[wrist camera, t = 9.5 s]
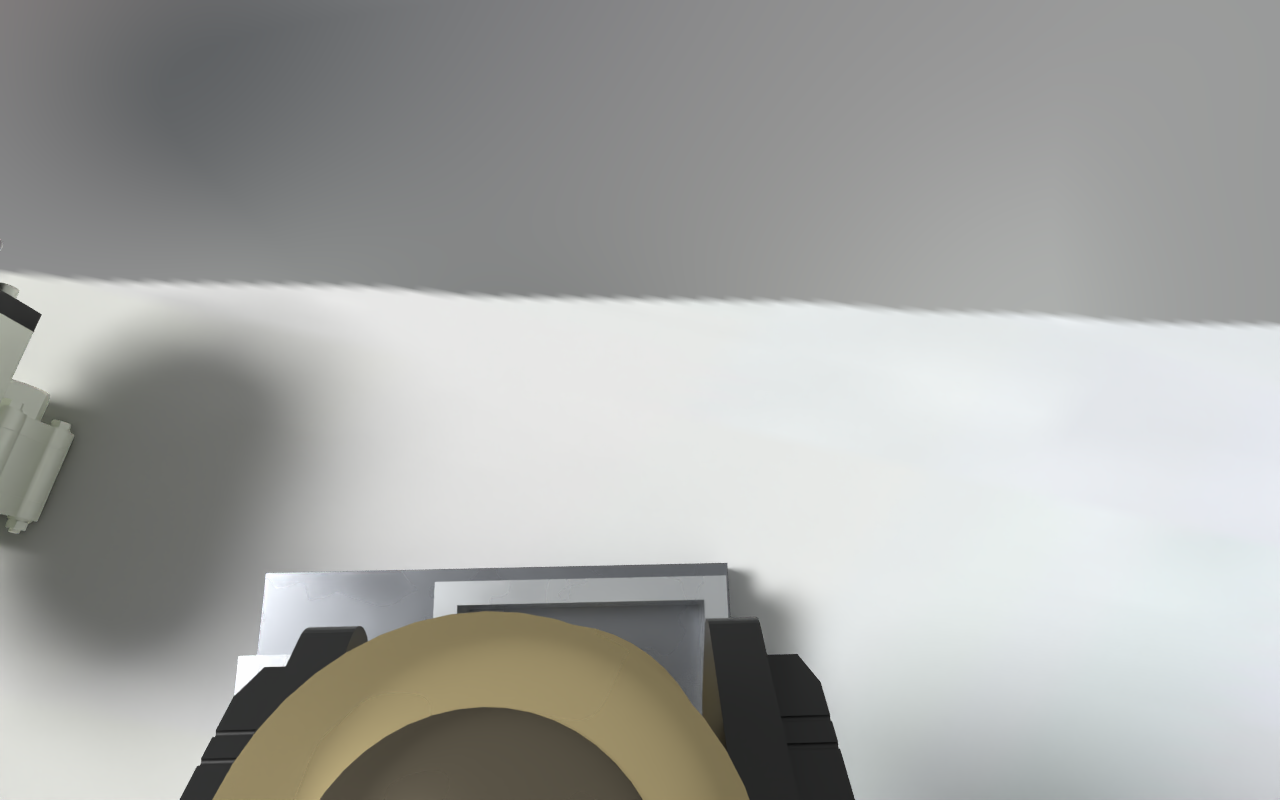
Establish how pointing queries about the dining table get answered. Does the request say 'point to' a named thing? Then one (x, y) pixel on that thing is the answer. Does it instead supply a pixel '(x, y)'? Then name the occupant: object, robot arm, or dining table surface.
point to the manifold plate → (505, 606)
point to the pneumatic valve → (24, 422)
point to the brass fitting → (487, 721)
